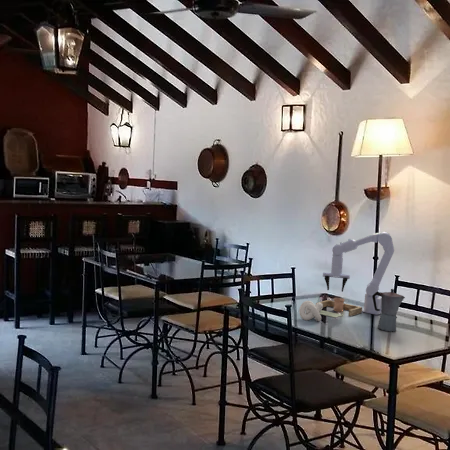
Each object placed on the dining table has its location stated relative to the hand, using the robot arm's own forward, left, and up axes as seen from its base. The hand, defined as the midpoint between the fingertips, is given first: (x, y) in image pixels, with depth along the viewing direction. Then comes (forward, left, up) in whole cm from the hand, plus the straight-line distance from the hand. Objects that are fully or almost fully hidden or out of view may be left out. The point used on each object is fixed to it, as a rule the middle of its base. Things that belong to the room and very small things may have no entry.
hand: (335, 290), depth 340 cm
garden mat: (-5, +16, -10) cm, 19 cm away
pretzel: (-7, +34, -10) cm, 36 cm away
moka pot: (-40, +20, -10) cm, 46 cm away
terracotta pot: (-5, +4, -10) cm, 12 cm away
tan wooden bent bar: (-5, +4, -10) cm, 12 cm away
